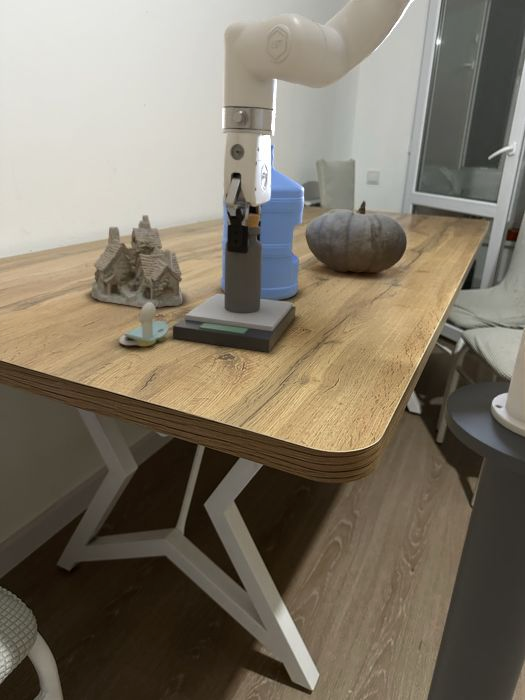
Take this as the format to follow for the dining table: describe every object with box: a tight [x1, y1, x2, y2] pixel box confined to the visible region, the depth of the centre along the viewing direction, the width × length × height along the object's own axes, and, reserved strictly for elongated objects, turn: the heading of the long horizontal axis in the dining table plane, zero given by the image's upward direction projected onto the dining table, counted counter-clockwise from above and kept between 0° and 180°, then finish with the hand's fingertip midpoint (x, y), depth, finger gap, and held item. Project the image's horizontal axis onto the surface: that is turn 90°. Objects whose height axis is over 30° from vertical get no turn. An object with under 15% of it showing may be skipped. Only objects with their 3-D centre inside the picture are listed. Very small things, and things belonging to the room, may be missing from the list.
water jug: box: [220, 144, 305, 301], centre depth 101 cm, size 16×16×28 cm
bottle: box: [224, 213, 262, 313], centre depth 82 cm, size 6×6×15 cm
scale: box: [172, 293, 297, 353], centre depth 84 cm, size 15×18×3 cm
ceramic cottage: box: [90, 214, 184, 309], centre depth 95 cm, size 16×16×15 cm
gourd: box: [304, 200, 408, 274], centre depth 128 cm, size 25×25×17 cm
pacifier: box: [118, 302, 169, 347], centre depth 75 cm, size 7×6×6 cm
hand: (244, 247), depth 81 cm, fingers closed on bottle, 5 cm apart
